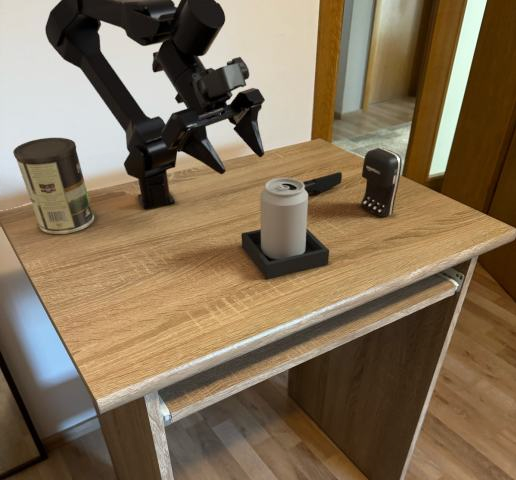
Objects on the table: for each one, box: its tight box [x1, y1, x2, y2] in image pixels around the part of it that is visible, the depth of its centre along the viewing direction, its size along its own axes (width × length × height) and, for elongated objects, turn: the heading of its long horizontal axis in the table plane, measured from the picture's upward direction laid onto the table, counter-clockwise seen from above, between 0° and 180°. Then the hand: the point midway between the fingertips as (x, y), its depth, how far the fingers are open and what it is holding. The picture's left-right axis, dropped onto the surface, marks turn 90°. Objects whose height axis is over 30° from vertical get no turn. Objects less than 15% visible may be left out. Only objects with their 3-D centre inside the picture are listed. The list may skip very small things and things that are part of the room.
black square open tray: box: [240, 227, 330, 280], centre depth 82 cm, size 11×11×3 cm
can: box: [259, 177, 309, 260], centre depth 79 cm, size 8×8×12 cm
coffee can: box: [12, 137, 95, 235], centre depth 89 cm, size 10×10×14 cm
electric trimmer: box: [302, 171, 343, 196], centre depth 100 cm, size 4×16×3 cm, turn 123°
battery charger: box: [360, 147, 403, 217], centre depth 91 cm, size 7×4×11 cm, turn 32°
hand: (243, 164), depth 78 cm, fingers open, 9 cm apart
